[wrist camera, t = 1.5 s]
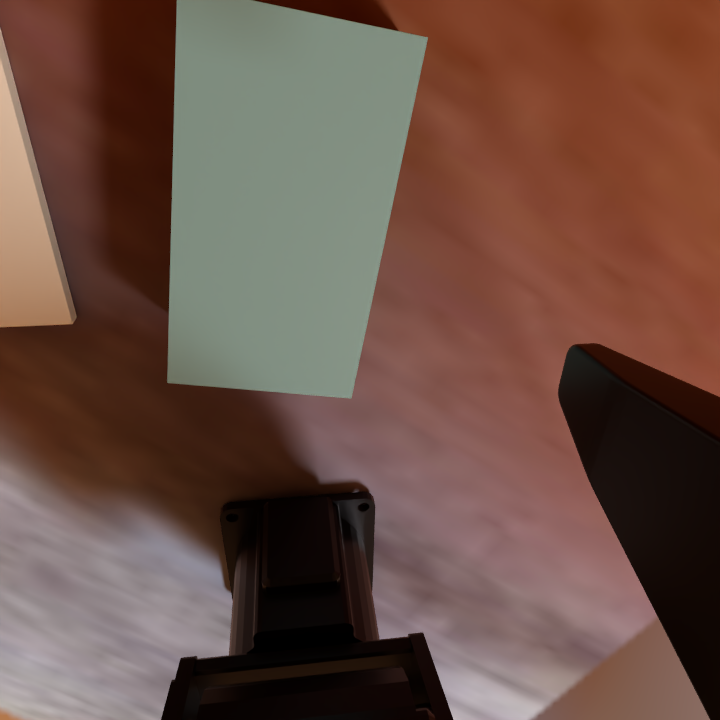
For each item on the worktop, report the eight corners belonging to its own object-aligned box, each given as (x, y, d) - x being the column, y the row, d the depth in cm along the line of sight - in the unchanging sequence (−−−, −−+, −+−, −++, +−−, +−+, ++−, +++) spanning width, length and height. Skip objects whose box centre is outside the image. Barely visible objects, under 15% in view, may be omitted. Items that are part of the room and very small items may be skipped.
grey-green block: (339, 336, 22) (351, 398, 18) (185, 320, 21) (167, 382, 17) (397, 30, 17) (427, 37, 13) (198, -12, 16) (176, -16, 12)
